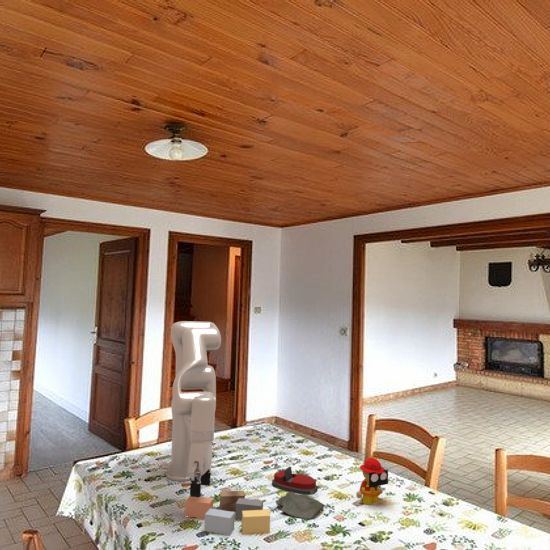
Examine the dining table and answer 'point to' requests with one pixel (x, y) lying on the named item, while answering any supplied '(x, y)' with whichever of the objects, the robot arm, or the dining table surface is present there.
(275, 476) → the bumper car
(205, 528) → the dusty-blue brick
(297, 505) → the artifact
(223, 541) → the dining table surface
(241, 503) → the charcoal brick
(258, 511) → the ochre brick
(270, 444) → the dining table surface
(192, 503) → the terracotta brick
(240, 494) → the walnut brick
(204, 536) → the dining table surface
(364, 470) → the toy
